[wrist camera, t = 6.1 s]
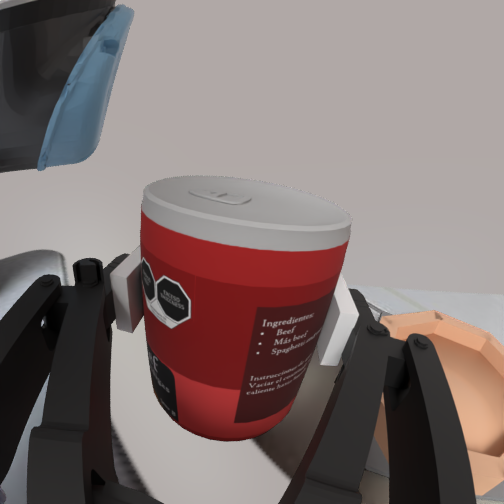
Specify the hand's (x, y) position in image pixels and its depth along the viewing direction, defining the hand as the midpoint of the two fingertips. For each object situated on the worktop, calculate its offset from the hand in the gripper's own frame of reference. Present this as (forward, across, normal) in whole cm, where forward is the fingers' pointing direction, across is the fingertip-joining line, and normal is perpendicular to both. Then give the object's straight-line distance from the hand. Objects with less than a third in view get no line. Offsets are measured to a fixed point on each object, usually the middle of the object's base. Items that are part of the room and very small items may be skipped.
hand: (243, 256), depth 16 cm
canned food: (-4, 0, -7) cm, 8 cm away
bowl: (-5, +16, -6) cm, 18 cm away
